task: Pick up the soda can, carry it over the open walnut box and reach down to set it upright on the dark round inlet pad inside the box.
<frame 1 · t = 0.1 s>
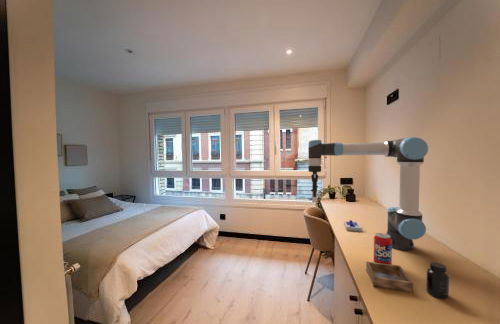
hand: (314, 199, 131), 28 cm above the table, fingers open, 13 cm apart
walnut box: (387, 280, 95), on the table
supplement bottle: (437, 294, 85), on the table
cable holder: (352, 227, 161), resting on grey desk tray
grey desk tray: (352, 228, 161), on the table
soda can: (382, 264, 109), on the table
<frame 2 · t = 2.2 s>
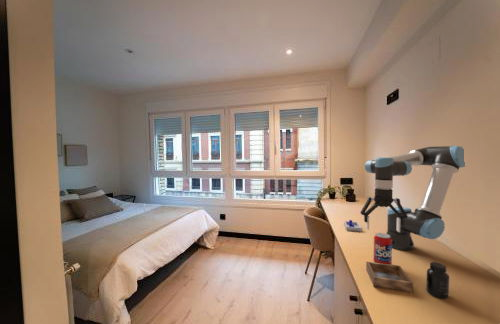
hand: (382, 230, 108), 18 cm above the table, fingers open, 13 cm apart
nothing on the table moved.
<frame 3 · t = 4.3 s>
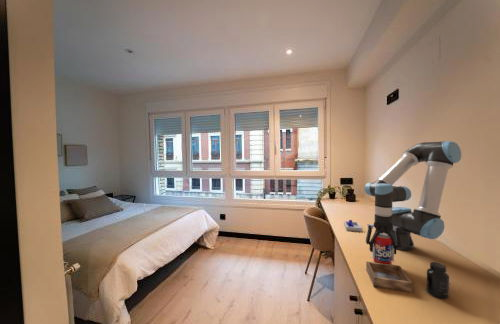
hand: (382, 258, 109), 3 cm above the table, fingers closed on soda can, 8 cm apart
soda can: (382, 264, 109), on the table, touching gripper
everything else where it was.
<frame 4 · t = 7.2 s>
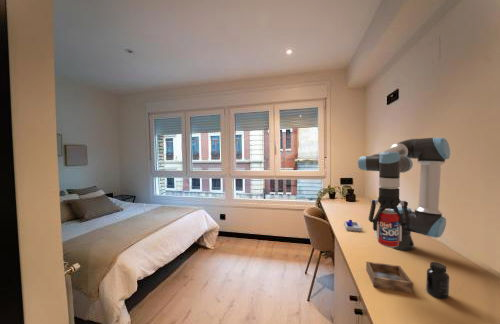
hand: (388, 238, 94), 19 cm above the table, fingers closed on soda can, 8 cm apart
soda can: (387, 245, 94), point 16 cm above the table, touching gripper
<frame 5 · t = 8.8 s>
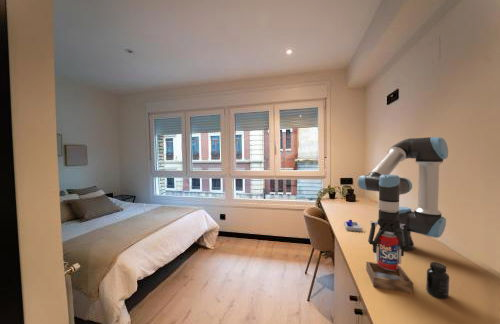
hand: (387, 261, 95), 9 cm above the table, fingers closed on soda can, 8 cm apart
soda can: (387, 267, 95), point 6 cm above the table, touching gripper
when the fingers open (6 cm above the table, at t = 10.2 s): soda can drops 2 cm, resting on walnut box.
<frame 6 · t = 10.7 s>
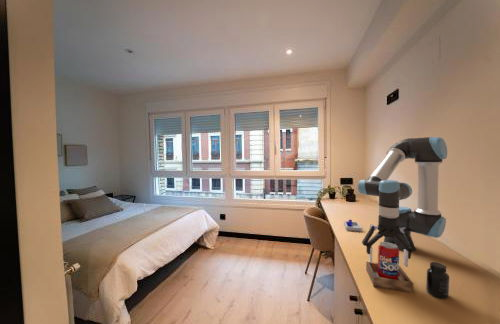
hand: (387, 263, 95), 8 cm above the table, fingers open, 13 cm apart
soda can: (387, 278, 95), point 1 cm above the table, touching walnut box
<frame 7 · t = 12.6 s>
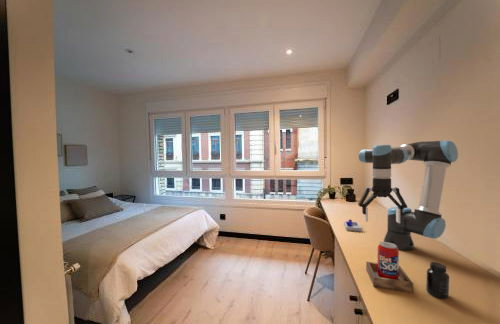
hand: (381, 221, 103), 24 cm above the table, fingers open, 13 cm apart
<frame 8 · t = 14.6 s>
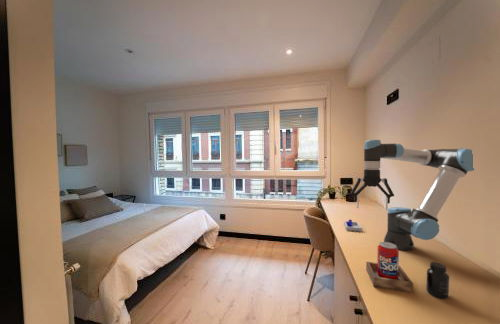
hand: (371, 208, 115), 27 cm above the table, fingers open, 13 cm apart
at the end: soda can inside the target area on the walnut box (0.1 cm from its centre), point 0.8 cm above the walnut box's base; soda can tilted 0°; the gripper is holding nothing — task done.
